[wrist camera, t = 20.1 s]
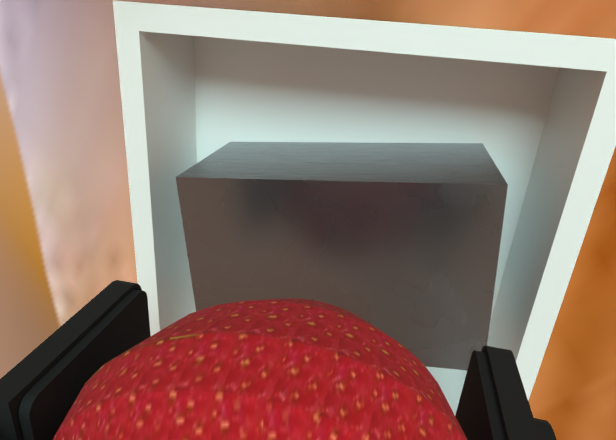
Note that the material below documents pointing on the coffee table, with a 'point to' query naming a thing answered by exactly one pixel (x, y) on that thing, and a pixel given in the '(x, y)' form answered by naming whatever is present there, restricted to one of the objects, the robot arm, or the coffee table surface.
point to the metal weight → (353, 234)
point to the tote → (372, 131)
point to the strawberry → (263, 381)
